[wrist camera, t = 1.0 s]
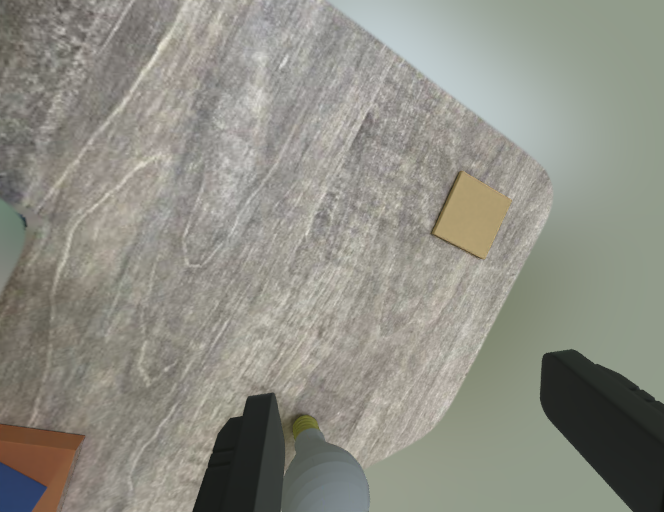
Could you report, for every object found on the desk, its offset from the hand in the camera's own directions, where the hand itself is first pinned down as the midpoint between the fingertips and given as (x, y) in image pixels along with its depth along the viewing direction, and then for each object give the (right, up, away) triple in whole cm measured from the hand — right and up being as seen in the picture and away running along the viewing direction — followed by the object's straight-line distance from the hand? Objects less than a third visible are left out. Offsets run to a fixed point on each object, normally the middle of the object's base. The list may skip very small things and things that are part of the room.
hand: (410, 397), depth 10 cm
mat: (+10, +8, +19) cm, 23 cm away
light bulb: (-5, -9, +18) cm, 21 cm away
